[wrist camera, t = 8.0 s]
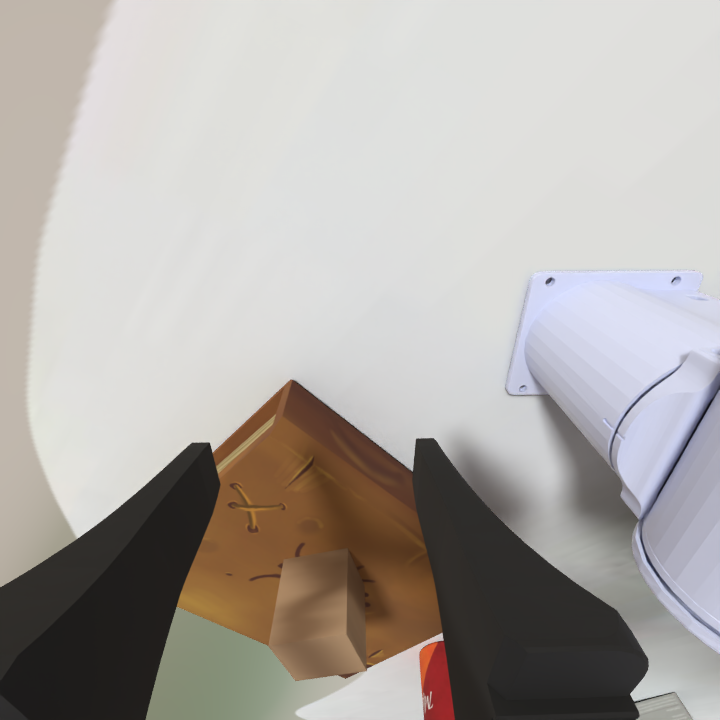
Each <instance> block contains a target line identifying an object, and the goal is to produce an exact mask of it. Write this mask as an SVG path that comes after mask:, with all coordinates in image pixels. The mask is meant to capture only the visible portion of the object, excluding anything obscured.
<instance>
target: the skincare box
mask: <svg viewBox="0 0 720 720" xmlns="http://www.w3.org/2000/svg"><path fill="white" fill-rule="evenodd" d="M635 705H636V707H637V709H638V711H639V715H640V717H639V718H638V719H636V720H693V719H692V717H691V716H690V714H689V713H688V711H687V710H686V708H685V706H684V705H683V703H682V702H681V700H680V699H679V697H678V696H677V694H676V693H675V692H674V693H670V694H667V695H663V696H659V697H655V698H652V699H648V700H645V701H641V702H638V703H635Z"/></svg>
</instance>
